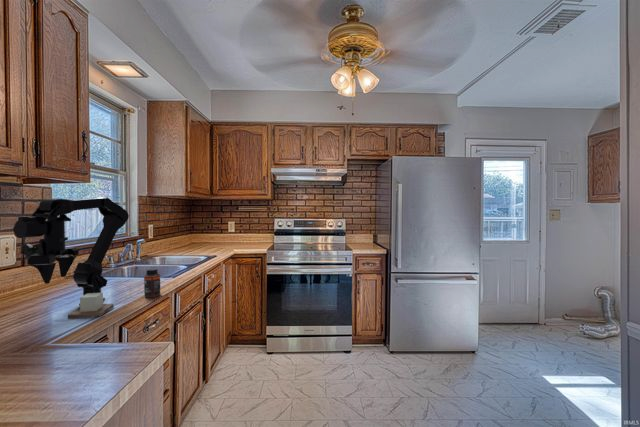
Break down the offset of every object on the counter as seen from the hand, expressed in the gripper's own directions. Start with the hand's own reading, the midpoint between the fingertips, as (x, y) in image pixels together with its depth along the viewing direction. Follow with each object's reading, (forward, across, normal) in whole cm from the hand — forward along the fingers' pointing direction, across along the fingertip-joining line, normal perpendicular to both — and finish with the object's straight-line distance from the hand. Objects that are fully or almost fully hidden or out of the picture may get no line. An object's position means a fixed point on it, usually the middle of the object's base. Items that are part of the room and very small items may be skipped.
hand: (55, 280), depth 110 cm
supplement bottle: (+12, -17, +26) cm, 33 cm away
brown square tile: (+12, 0, +11) cm, 16 cm away
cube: (+11, 0, +11) cm, 15 cm away
